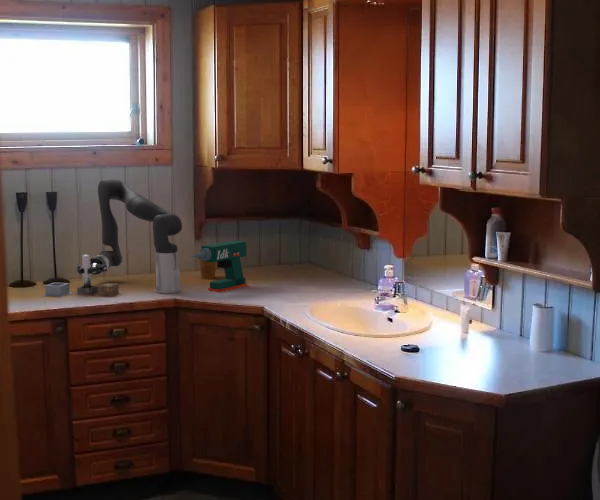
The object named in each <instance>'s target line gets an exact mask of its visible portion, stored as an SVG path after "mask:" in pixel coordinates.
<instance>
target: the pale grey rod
mask: <svg viewBox="0 0 600 500" xmlns="http://www.w3.org/2000/svg"><path fill="white" fill-rule="evenodd" d="M81 259H82V260H81V261H82V262H81V264H82V265H81V266H83V273H82V284H83V285H82V286H83V288H91V286H92V274H88V269H89V268H91V266H90V259H91V254H82V257H81Z"/></svg>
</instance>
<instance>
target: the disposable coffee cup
mask: <svg viewBox="0 0 600 500" xmlns="http://www.w3.org/2000/svg"><path fill="white" fill-rule="evenodd" d="M198 264H199V269H200V276H201V279H203V280H212V279H215V278H216V270H217V262H206V261H202V260H201V259H200V258H198Z"/></svg>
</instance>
